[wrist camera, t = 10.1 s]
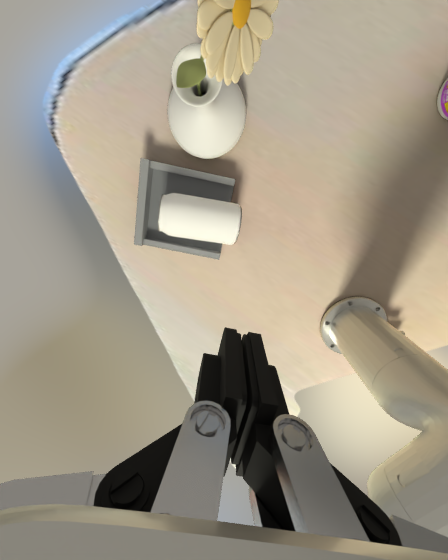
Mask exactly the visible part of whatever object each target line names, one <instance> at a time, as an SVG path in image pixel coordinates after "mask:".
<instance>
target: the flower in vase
mask: <svg viewBox="0 0 448 560" xmlns="http://www.w3.org/2000/svg"><path fill="white" fill-rule="evenodd" d="M278 1H279V0H198V7H199V8H198V12H197V26H196V28H197V34H198V36H199V37H200V38H203V39H202V42H201V44H198V43H197V44H190V45H187V46H185V47H184V48H182V49H181V50H180V51H179V52H178V54H177V55H176V57H175V59H174V61H173V65H172V70H171V78H172V84H173V89H172V91H171V94H170V97H169V101H168V109H167V114H168V122H169V126H170V129H171V132H172V134H173V136H174V138H175V140H176V141H177V143H178V144H179V145H180V146H181V147H182V148H183V149H184V150H185V151H186V152H188V153H190V154H191V155H193V156H196V157H199V158H204V159H211V158H216V157H220V156H222V155H224V154H226V153H227V152H229V151H230V150H231V149H232V148H233V147H234V146H235V145H236V144H237V142H238V141H239V139H240V137H241V135H242V133H243V130H244V126H245V122H246V105H245V100H244V97H243V94H242V91H241V89H240V87H239V86H238V84H237V82H238V81H239V79H240V76H241V75H242V73H243V71H244V72H245V73H246V74H247V75H249V74H250V73H251V72H252V70H253V66H254V62H257V61H258V60H259V58H260V54H261V48H260V46H261V44H262V39H264V40H266V39H269V38H270V37H271V35H272V32H273V22H272V20H271V18H270V17H271V14H272V13H274V11H275V10H276V8H277V6H278Z"/></svg>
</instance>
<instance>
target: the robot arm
mask: <svg viewBox="0 0 448 560" xmlns="http://www.w3.org/2000/svg"><path fill="white" fill-rule="evenodd" d="M320 333H321V337H322V339H323V341H324V342H325V344H326V345H327V346H328V347H329V348H330V349H331V350H333V351H334V352H337V353H339V354H343V355H344V357H345V358H346V360H347V361H348V362H349V364H350V365H351V366H352V368H353V369H354V371H355V372H356V373H357V375H358V376H359V377H360V379H361V380H362V382H363V383H364V384H365V386H366V387H367V388H368V390H369V391H370V393H371V394H372V395H373V397H374V398H375V399H376V401H377V402H378V403H379V405H380V406H381V407H382V409H383V410H384V411H385V412H386V413H387V414H389V415H390V416H391V417H393V418H394V419H395V420H397V421H399V422H401V423H403V424H405V425H407V426H410V427H412V428H415V429H418V430H421V431H422V432H421V433H420V434H419V435H418V436H417V437H416V438H414V439H413V441H411V442H410V443H409V444H407V445H406V446H404V447H403V448H402V449H400V450H399V451H398V452H396V453H395V454H393V455H392V456H391V457H389V458H388V459H387V460H385V461H384V462H383V463H381V464H380V465H379V466H378V467H377V468H375V469H374V470H373V471H372V473H371V474H370V476H369V478H368V481H367V492H368V496H367V495H365V494H364V493H363V492H362V491H361V490H360V489H359V488H358V487H356V486H355V485H354V484H353V483H352V482H351V481H350V480H349V479H347V478H346V477H345V476H344V475H343V474H342V473H341V472H339V471H338V470H337V469H336V468H335V467H334V466H332V464H331V463H330V462H329V460H328V459H327V457H326V455H325V453H324V451H323V449H322V447H321V445H320V443H319V441H318V439H317V437H316V435H315V433H314V432H313V430H312V429H311V427H310V426H309V425H308V424H307V423H306V422H304V421H303V420H301V419H300V418H298V417H296V416H293V415H289V412H288V409H287V405H286V402H285V398H284V395H283V391H282V388H281V384H280V381H279V377H278V374H277V370H276V368H275V366H272V365H268V361H267V357H266V353H265V349H264V345H263V341H262V337H261V334H256V333H251V332H248V334H247V335H245V334H244V335H243V337H242V341H241V334H240V333H237V330H235V329H230V328H224V332H223V336H222V340H221V344H220V348H219V352H218V356H217V355H211V354H206V353H204V354H203V358H202V363H201V367H200V372H199V377H198V383H197V389H196V396H195V402H194V404H193V405H192V406H191V407H190V408H189V409H188V411H187V413H186V415H185V418H184V421H183V423H182V424H181V425H179V426H178V427H176V428H175V429H173V430H172V431H170V432H169V433H167V434H165V435H164V436H162V437H161V438H159V439H158V440H156V441H154V442H153V443H151V444H150V445H148V446H147V447H145V448H143V449H142V450H140V451H139V452H138V453H136V454H134V455H133V456H131V457H130V458H128V459H126V460H125V461H123V462H122V463H120V464H119V465H117V466H115V467H114V468H113V469H112V470H110V471H109V472H108V473H107V474H100V475H93V473H94V472H93V471H91V472H82V473H73V474H63V475H54V476H45V477H35V478H26V479H17V480H12V481H9V482H4V483H1V484H0V560H448V369H446V368H445V367H444V366H442V365H441V364H440V363H439V362H437V361H436V360H435V359H434V358H432V357H431V356H430V355H429V354H427V353H426V352H425V351H424V350H422V349H421V348H420V347H419V346H417V345H416V344H415V343H413V342H412V341H411V340H410V339H408V338H407V337H406V336H405V333H404V332H403V331H399V330H397V329H396V328H395V327H393V326H392V325H391V324H389V323H388V321H387V315H386V313H385V311H384V309H383V308H382V307H381V306H380V305H379V304H378V303H377V302H375V301H374V300H371V299H369V298H366V297H350V298H346V299H343V300H341V301H339V302H337V303H336V304H334V305H333V306H332V307H331V308H330V309H329V310H328V311H327V312H326V313H325V315H324V316H323V319H322V321H321V325H320ZM230 458H231V463H232V464H236V475H237V476H243V479H244V480H245V481H246V482H247V484H248V485H249V499H250V503H251V509H252V514H253V519H254V524H255V526H250V525H243V524H235V523H228V522H220V521H217V518H218V511H219V504H220V497H221V490H222V483H223V477H224V476H225V473H226V470H227V467H228V464H229V461H230Z"/></svg>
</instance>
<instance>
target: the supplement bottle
mask: <svg viewBox="0 0 448 560" xmlns="http://www.w3.org/2000/svg"><path fill="white" fill-rule="evenodd" d="M437 108H438V111H439V113H440V115H441V116H442V117H443V118H445V119H447V120H448V78H447V79H446V81H445V82H444V83H443V85H442V87H441V89H440V91H439V94H438V98H437Z"/></svg>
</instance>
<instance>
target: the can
mask: <svg viewBox="0 0 448 560" xmlns="http://www.w3.org/2000/svg"><path fill="white" fill-rule="evenodd" d="M241 219H242V208H241V206H239V204H236V203H230V202H225V201H219V200H213V199H208V198H202V197H196V196H190V195H184V194H178V193H170V194H167V195H164V194H162V195H161V198H160V203H159V210H158V231H159V232H160V231H162V232H164V233H166V234H167V235H169V236H174V237H181V238H188V239H194V240H201V241H208V242H215V243H222V244H230V245H232V244H233V243H236V241H237V238H238V235H239V231H240V226H241Z"/></svg>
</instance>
